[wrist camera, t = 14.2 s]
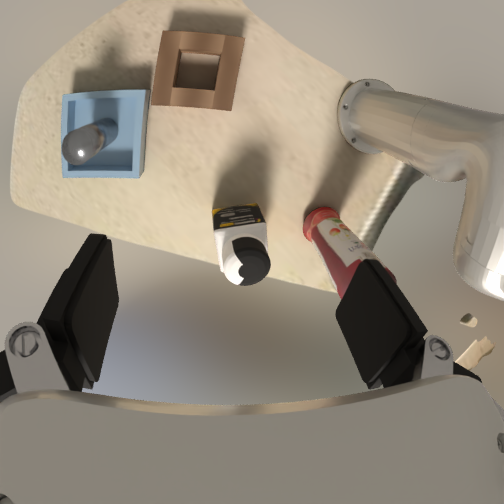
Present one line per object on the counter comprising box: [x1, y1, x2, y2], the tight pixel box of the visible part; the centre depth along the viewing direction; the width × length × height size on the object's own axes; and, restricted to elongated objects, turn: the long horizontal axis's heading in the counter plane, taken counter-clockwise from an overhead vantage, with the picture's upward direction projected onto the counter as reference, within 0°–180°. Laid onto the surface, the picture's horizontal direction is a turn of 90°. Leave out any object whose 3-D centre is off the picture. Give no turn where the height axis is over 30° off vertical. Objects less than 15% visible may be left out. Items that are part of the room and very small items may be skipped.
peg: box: [62, 118, 118, 165], centre depth 27 cm, size 4×4×10 cm
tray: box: [61, 89, 151, 178], centre depth 31 cm, size 12×12×4 cm
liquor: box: [303, 207, 396, 300], centre depth 35 cm, size 7×7×28 cm
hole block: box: [151, 31, 245, 111], centre depth 29 cm, size 10×10×4 cm
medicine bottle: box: [212, 203, 271, 286], centre depth 40 cm, size 7×7×12 cm
